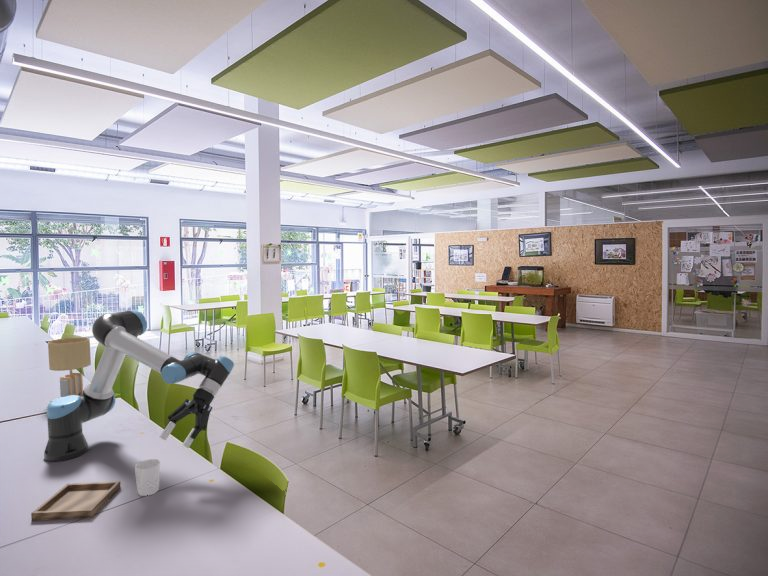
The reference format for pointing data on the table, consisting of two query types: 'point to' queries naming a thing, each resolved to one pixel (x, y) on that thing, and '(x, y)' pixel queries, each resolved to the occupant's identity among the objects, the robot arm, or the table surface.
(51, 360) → the desk lamp
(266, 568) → the table surface
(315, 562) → the table surface
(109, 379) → the robot arm
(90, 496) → the walnut tray
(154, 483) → the white cup
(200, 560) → the table surface
